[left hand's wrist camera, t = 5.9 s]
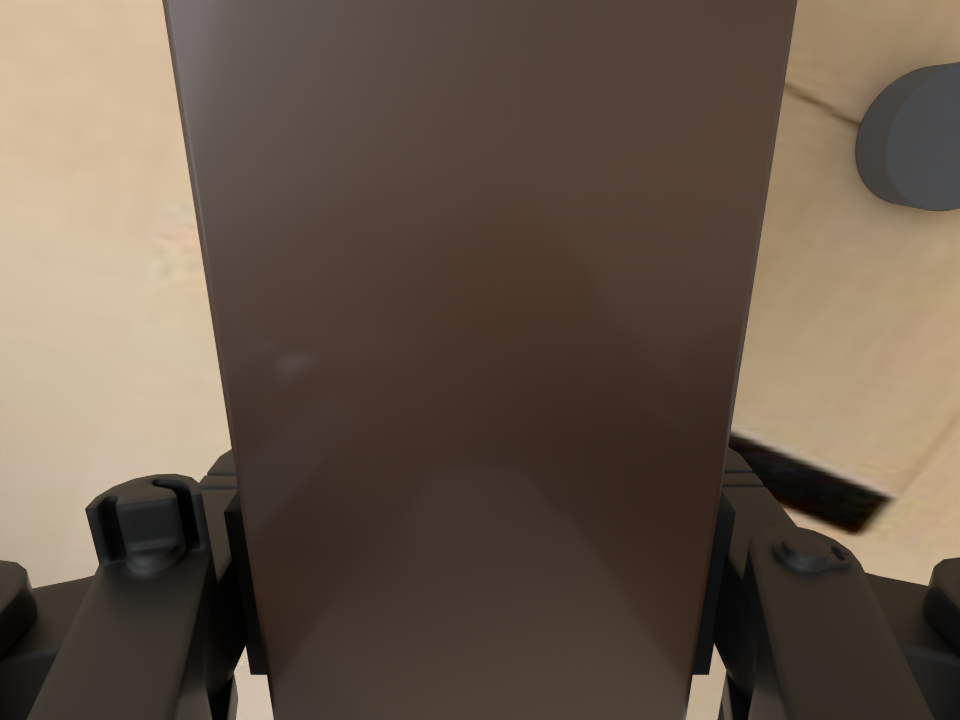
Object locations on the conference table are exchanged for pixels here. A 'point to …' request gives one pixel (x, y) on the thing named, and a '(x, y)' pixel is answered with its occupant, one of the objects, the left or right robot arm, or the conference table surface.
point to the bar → (479, 334)
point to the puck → (914, 140)
